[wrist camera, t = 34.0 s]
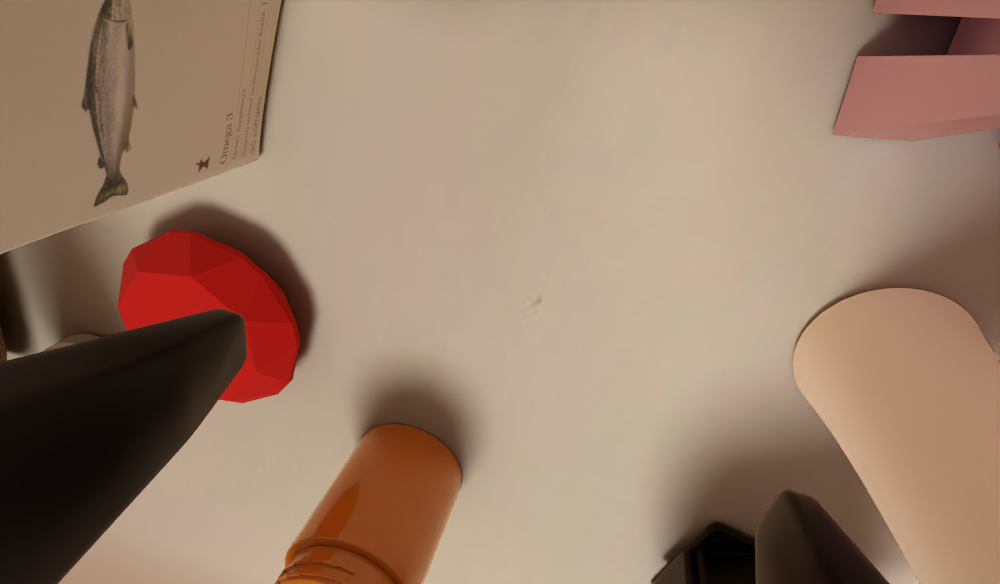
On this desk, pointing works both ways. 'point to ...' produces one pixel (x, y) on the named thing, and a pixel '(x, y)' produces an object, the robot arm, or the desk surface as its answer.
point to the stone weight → (2, 348)
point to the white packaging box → (123, 103)
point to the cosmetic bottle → (914, 422)
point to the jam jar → (379, 513)
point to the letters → (929, 79)
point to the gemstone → (214, 303)
